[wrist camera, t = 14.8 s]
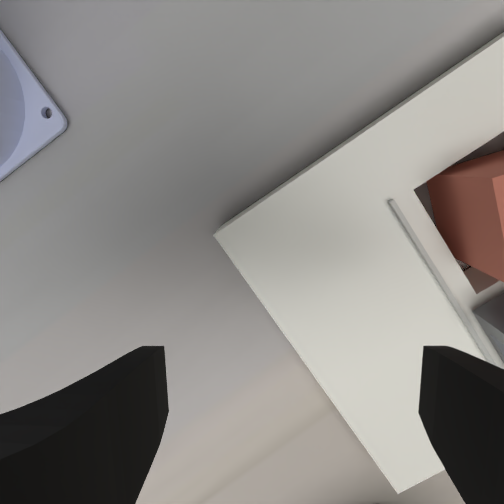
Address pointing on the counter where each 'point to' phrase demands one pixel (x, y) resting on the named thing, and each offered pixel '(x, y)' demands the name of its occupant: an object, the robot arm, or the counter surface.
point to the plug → (472, 211)
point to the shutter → (493, 322)
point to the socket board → (378, 261)
